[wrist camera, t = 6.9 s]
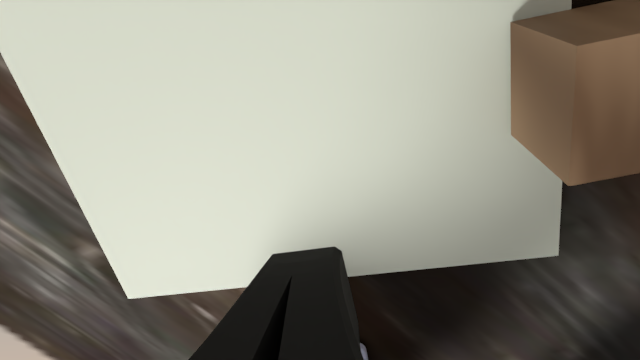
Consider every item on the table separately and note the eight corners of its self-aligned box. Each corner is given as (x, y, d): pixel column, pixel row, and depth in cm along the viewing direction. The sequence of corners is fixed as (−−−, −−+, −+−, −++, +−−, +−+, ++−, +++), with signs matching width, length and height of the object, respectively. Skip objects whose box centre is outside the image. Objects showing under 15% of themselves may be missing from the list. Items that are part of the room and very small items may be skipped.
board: (549, 241, 20) (558, 255, 19) (137, 285, 23) (128, 298, 23) (569, -219, 13) (583, -230, 12) (-35, -60, 16) (-58, -60, 15)
